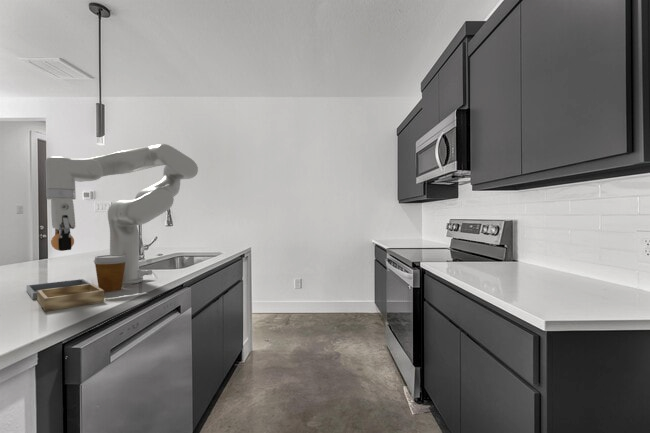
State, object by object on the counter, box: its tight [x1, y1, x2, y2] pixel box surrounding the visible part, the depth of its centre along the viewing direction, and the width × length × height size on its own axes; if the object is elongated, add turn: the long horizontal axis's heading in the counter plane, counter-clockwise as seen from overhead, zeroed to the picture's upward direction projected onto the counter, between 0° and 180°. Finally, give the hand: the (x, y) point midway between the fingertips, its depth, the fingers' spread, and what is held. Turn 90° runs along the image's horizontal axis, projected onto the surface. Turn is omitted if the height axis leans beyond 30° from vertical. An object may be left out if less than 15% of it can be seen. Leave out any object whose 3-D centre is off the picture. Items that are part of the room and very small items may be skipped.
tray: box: [36, 283, 105, 312], centre depth 97 cm, size 14×14×4 cm
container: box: [26, 278, 92, 301], centre depth 108 cm, size 15×15×2 cm
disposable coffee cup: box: [93, 254, 127, 293], centre depth 111 cm, size 10×10×12 cm
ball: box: [50, 233, 75, 252], centre depth 109 cm, size 6×6×6 cm
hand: (63, 248), depth 109 cm, fingers closed on ball, 6 cm apart
